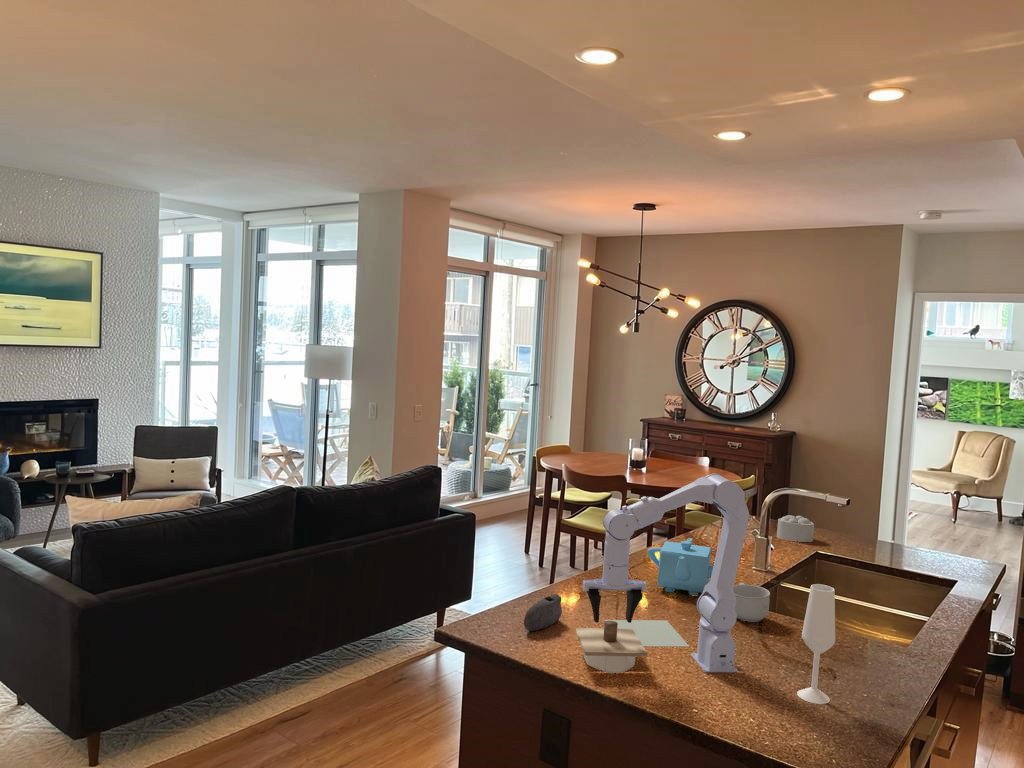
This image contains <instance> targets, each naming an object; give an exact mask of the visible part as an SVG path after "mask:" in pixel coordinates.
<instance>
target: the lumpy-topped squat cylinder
mask: <svg viewBox="0 0 1024 768" xmlns="http://www.w3.org/2000/svg"><path fill="white" fill-rule="evenodd" d="M776 530H777V531H776V538H778V539H780V540H783V539H785V540H784V541H788V540H792V541H799V542H812V541H813V542H814V537H815V523H814V522H812V521H810V520H809V519H808V518H806V517H804V516H802V515H796V516H794V515H790V514H788V515H785V516H782V517H781V518H777V529H776ZM792 541H791V542H792ZM799 542H798V543H799Z"/></svg>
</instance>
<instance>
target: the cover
mask: <svg viewBox="0 0 1024 768" xmlns="http://www.w3.org/2000/svg"><path fill="white" fill-rule="evenodd" d="M617 626H618V623H617V622H615V621H605V620H604V624H603V627H574V632H575V635H576V637H577V640H578V642H579V645H580V647H581V648H582V651H583V655H584V654H585V656H635V657H638V658H640V657H642V658H643V657H644V658H645V657H646V658H647V657H648V652H647V650H646V648H645V647H643V645H642V643H641V642H640V640H639V639H638V637H637V635H636V634H635V632H634V631H633V629H617Z"/></svg>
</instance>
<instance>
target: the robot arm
mask: <svg viewBox="0 0 1024 768" xmlns="http://www.w3.org/2000/svg"><path fill="white" fill-rule="evenodd" d="M745 495H746V492H745V491H744V489H742V488H741V486H740V485H739V484H738V483H737V482H735V481H732V480H730V479H727V478H726V477H724V476H722V475H721V474H718V473H710V474H708V475H706V476H702V477H698V478H697V479H695V480H694V481H692V482H690V483H689V484H686V485H684V486H682V487H680V488H678V489H676V490H674V491H672V492H670V493H668V494H666V495H664V496H662V497H660V498H655V497H654V496H649V497H647V496H645V495H644V496H642V497H640V500H638V501H637V502H634V503H632V504H629V505H623V506H621V509H616V508H615V509H611V510H610V511H608V512H607V514H605V516H604V517H603V518H604V519H603V520H602V525H603V528H604V529H605V537H604V538H605V540H604V548H603V549H604V551H603V565H602V577H601V578H595V579H584V580H583V579H582V590H583V592H586V593H587V596H588V599H589V602H590V605H591V610H592V615H593V617H592V618H593V621H594V623H597V624H598V623H599V622H600V621H599V620H600V605H601V600H602V595H601V592H600V591H626V609H625V620H627V622H628V623H631V621H632V620H633V616H634V613H635V611H636V609H637V607H638V605H639V604H640V602H641V600H642V599H643V593H642V592H645V593H646V592H647V582H646V581H645V580H635V579H628V578H629V565H630V549H631V545H630V543H631V537H632V536H633V535H634V533H635V531H638V530H641V529H643V528H645V527H647V526H650V525H652V524H654V523H657V522H660V521H661V520H662V519H663V516H664V514H665V513H667V512H669V511H672V510H675V509H677V508H680V507H683V506H686V505H689V504H691V503H695V502H700V503H706V504H710V505H713V504H714V505H715V506H716V508H717V510H718V511H720V513H721V514H722V516H723V522H722V526H721V531H720V536H719V540H718V543H717V544H718V545H717V549H716V554H715V558H714V563H713V564H714V566H713V571H712V575H711V578H710V579H709V582H708V584H706V585H705V587H704V591H703V593H701V595H699V596H698V599H697V600H696V610H697V611H698V613H699V614H700V619H699V624H698V626H699V627H698V640H697V652H695V653H690V656H691V657H692V658H693V659H694V661H695V662H696V664H698V666H699V667H700V668H701V669H702V670H703V672H705V673H738V672H739V671H738V670H739V669H737V667H736V666H735V661H736V651H737V647H736V643H735V640H734V639H733V636H732V628H734V626H735V624H736V623H737V619H738V618H737V614H736V610H735V606H736V598H735V595H734V591H733V587H734V585H735V582H736V578H737V577H736V576H737V573H738V569H739V564H740V561H741V560H740V559H741V555H742V550H743V546H744V542H745V537H746V533H747V529H748V524H749V520H750V512H749V508H748V505H747V501H746V498H745Z"/></svg>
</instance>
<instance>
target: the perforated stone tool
mask: <svg viewBox="0 0 1024 768" xmlns="http://www.w3.org/2000/svg"><path fill="white" fill-rule="evenodd" d="M562 609H563V608H562V596H560V595H559V594H557V593H555V594H552V595H548V596H545V597H543V598H542V599H539V600H538V601H537V602H535V603H534V604H533V605H532V606H530V607H529V608H528V610H526V613H525V615H524V619H523V626H524V628H525V630H527V631H529V632H535V631H539V630H542V629H545V628H547V627H550V626H552V625H553V624H555V623H556V622H558V621H559V620H560V618H561V615H562V612H563V610H562Z"/></svg>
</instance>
